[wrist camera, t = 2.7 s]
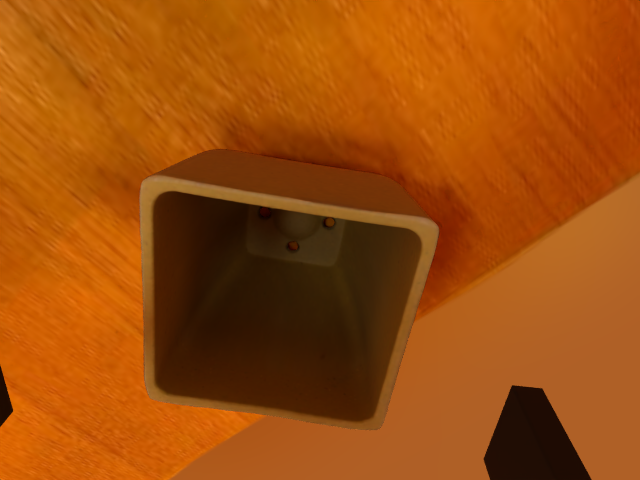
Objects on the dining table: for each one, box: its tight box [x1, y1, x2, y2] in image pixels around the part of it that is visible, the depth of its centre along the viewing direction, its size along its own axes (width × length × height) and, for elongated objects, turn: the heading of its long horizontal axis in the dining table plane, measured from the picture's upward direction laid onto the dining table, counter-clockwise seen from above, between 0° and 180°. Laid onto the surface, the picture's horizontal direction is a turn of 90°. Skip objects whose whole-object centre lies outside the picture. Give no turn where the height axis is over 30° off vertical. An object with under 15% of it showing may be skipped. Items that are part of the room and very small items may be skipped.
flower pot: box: [139, 149, 439, 430], centre depth 19 cm, size 9×9×9 cm
